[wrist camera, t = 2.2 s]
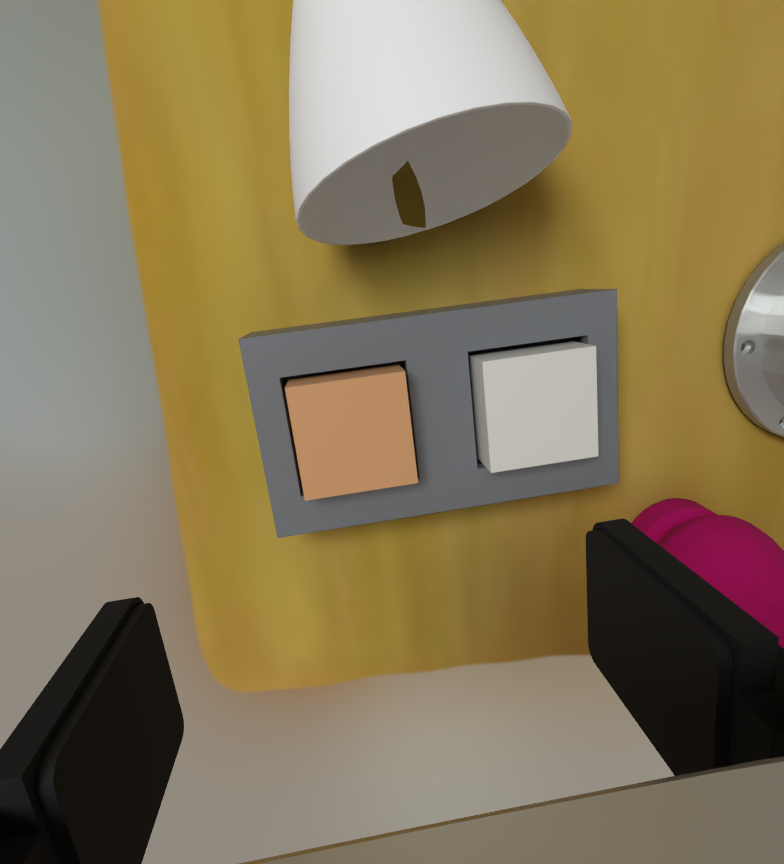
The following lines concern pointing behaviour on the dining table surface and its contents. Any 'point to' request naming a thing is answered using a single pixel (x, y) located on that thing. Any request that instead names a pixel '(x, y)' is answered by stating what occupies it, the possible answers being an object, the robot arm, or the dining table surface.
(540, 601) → the dining table surface
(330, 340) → the key panel
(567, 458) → the white key
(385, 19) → the rocket engine
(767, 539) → the pepper mill
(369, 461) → the orange key
